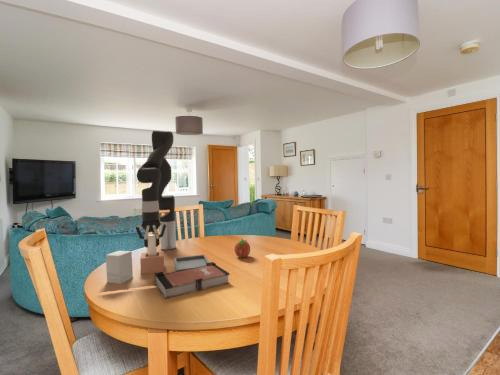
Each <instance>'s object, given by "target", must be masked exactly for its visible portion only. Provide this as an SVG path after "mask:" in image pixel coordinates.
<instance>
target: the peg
mask: <svg viewBox="0 0 500 375" xmlns="http://www.w3.org/2000/svg"><path fill="white" fill-rule="evenodd" d="M147 243H148V248H147V253H148V257H151V256H157V251H158V250H157V248H158V247H156V235H155V234H148V235H147Z"/></svg>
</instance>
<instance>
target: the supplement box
mask: <svg viewBox="0 0 500 375" xmlns="http://www.w3.org/2000/svg"><path fill="white" fill-rule="evenodd" d="M132 254H133V252H132V251H130V250H129V251H128V250H116V251H114V252H111V253H107V254H106V255H105V264H106V265H105V266H106V267H105V268H106V269H105V270H106V282H107V283H110V284H115V285H116V284H117V285H118V284H119V285H121V284H123V283H125V282H127V281H130V280H131V279H133V278H134V277H133V276H134V275H133V273H134V272H133V258H132V257H133V256H132Z"/></svg>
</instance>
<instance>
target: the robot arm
mask: <svg viewBox="0 0 500 375" xmlns="http://www.w3.org/2000/svg"><path fill="white" fill-rule="evenodd" d="M173 144H174V133H173V132H172V131H170V130H162V129H161V130H160V129H154V130H152V132H151V145H152V151H151V152H150V154H149V155H148V157H147V159H146V161H145V162H144V163H143V164H142V165H141V166H140V167H139V168H138V169H137V172H136V179H137V181H138V182H139V183H141V184H151V185H150V187H146V188H143V189H142V190H141V215H142V216H141V217H142V218H141V219H142V220H141V224H140V225H137V226H135V231H136V232H137V234H138V237H139V239H140V240H143V242H144V245H143V246H144V247H145V248H146V249H148V243H147V236H148V235H149V233H154V235H156V247H157V248H158V247H159V245H160V249H161V250H163V251H164V250H166V251H167V250H172V249H175V248H177V240H176V215H175V214H176V213H175V210H176V209H175V207H176V206H175V205H176V202H175V201H176V200H175V196H174V195H171V194H167V195H163V193H164V190H165V189H166V187H167V186H168V185H169V183H170V182H171V179H172V167H171V165H170V163H169V161H168V160H167V159H166V156H167V154H168V153H169V151H170V150H171V148H172V147H173ZM160 211H168V212H167V213H165V214H163V215H161V216H160ZM142 229H143V230H144V231H145V233H144V235H143V233H142V231H141V230H142ZM158 229H159V231H158ZM159 233H160V234H159Z"/></svg>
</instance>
